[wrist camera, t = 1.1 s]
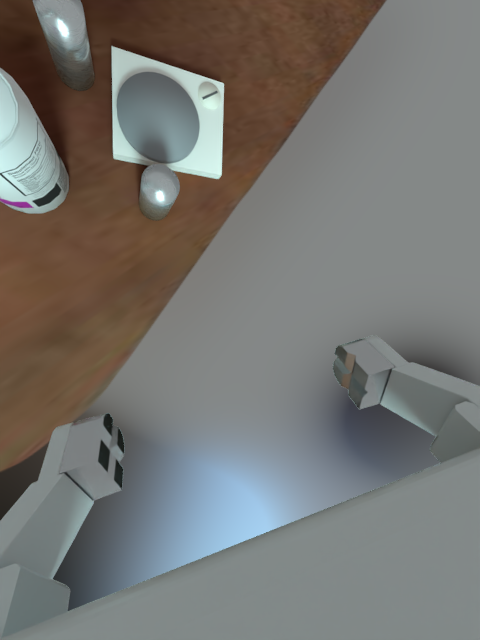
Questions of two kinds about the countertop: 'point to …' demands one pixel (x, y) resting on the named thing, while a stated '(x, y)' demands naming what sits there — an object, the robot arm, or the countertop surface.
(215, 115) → the scale
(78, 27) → the cylinder
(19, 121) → the supplement can
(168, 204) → the glossy grey rounded cylinder
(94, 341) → the countertop surface
